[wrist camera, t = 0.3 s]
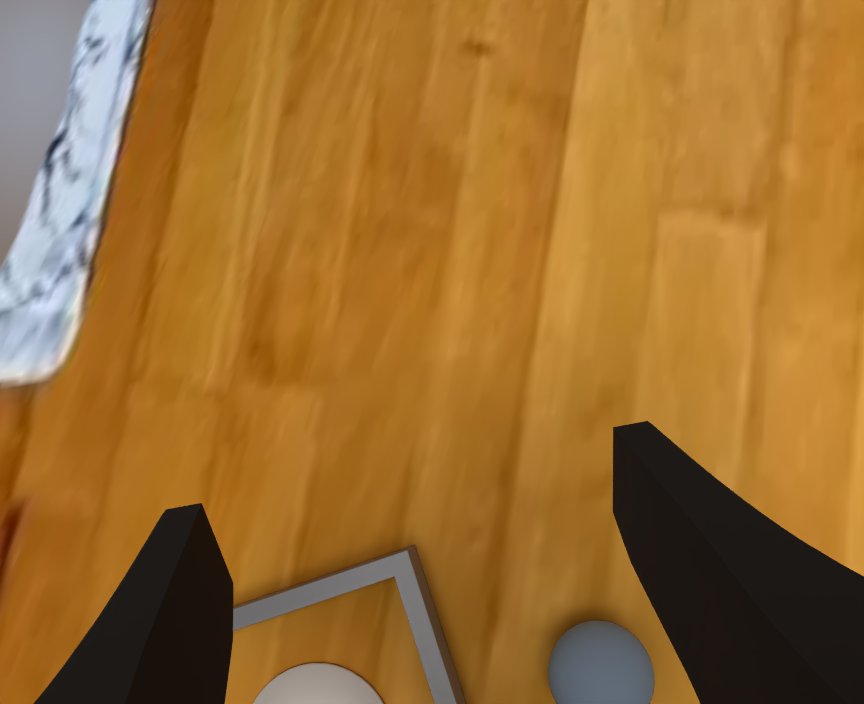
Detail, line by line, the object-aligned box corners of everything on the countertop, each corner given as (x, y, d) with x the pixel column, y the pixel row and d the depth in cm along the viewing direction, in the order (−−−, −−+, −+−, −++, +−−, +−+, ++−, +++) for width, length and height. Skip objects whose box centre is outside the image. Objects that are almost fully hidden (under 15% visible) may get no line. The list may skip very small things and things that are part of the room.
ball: (659, 696, 40) (680, 728, 35) (566, 727, 40) (573, 763, 35) (624, 599, 41) (639, 616, 36) (532, 629, 41) (534, 651, 36)
